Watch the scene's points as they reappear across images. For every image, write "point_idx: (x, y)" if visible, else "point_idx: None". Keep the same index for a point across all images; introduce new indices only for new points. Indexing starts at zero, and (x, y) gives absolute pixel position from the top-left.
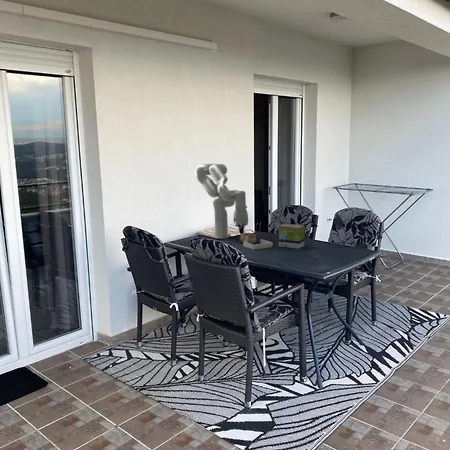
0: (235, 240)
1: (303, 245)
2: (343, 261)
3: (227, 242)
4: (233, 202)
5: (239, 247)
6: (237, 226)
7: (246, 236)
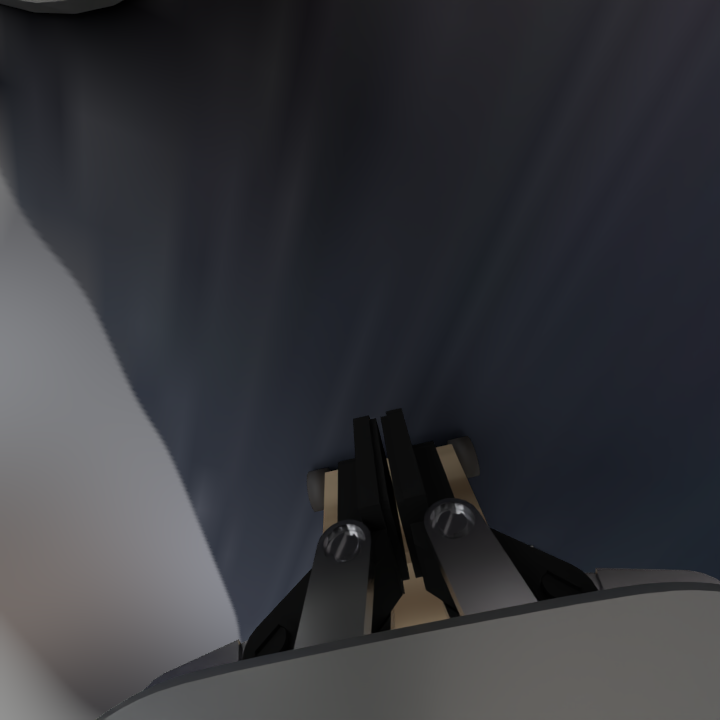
0: (289, 297)
1: None
2: None
3: (137, 393)
4: None
5: (252, 624)
6: (273, 616)
7: None
